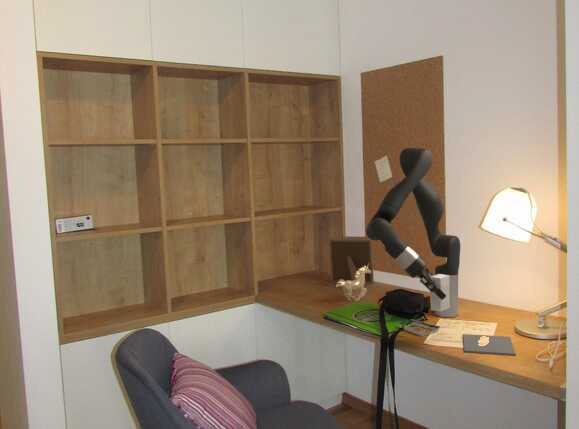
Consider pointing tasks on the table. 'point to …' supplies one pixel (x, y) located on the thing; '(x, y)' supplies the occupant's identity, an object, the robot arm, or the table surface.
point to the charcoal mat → (488, 345)
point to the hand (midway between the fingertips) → (444, 295)
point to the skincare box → (443, 284)
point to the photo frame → (350, 257)
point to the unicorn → (355, 283)
